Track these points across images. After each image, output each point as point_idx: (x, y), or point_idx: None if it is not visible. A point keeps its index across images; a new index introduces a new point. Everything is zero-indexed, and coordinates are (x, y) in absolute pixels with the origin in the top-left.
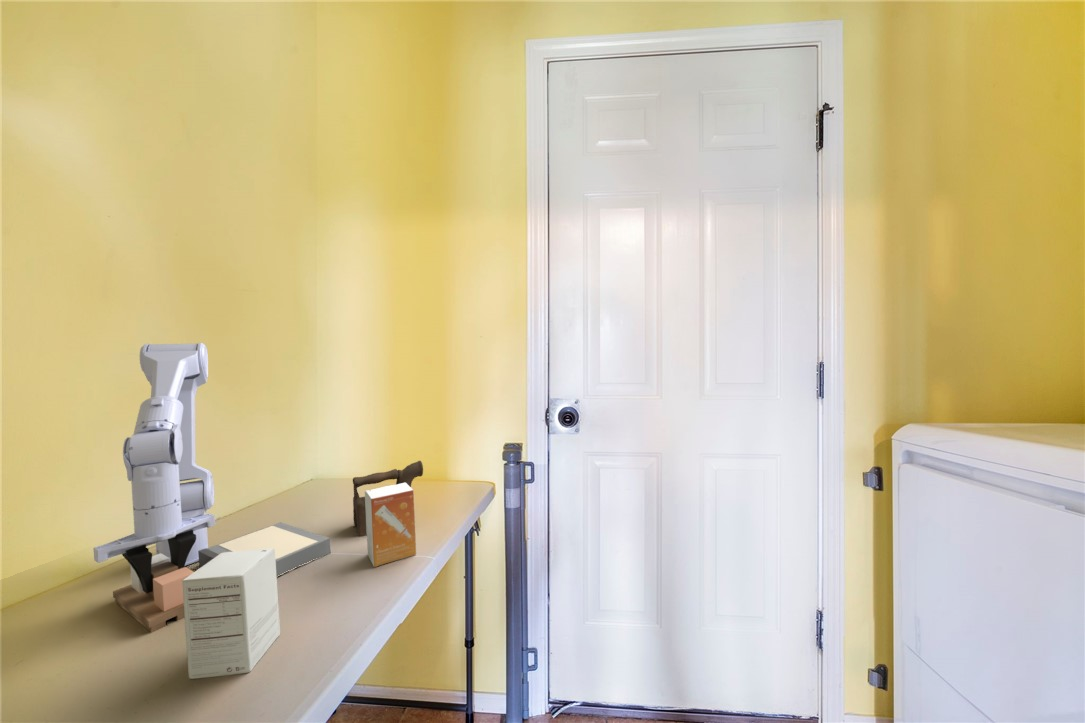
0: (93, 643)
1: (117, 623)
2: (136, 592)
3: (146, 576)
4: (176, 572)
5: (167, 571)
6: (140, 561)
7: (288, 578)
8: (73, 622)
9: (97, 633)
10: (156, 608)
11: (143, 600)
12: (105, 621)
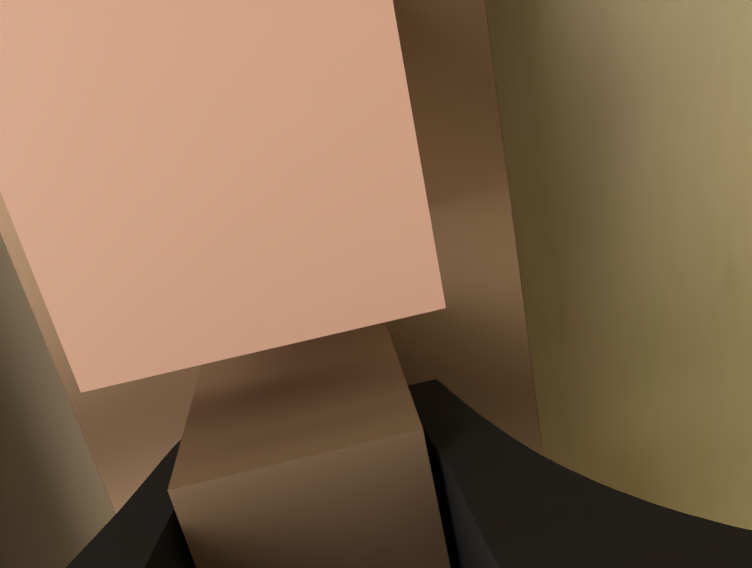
0: (712, 103)
1: (571, 294)
2: None
3: (491, 452)
4: (186, 275)
5: (283, 452)
6: (696, 552)
7: None
8: (724, 523)
9: (671, 246)
10: None
11: (448, 378)
12: (614, 390)
